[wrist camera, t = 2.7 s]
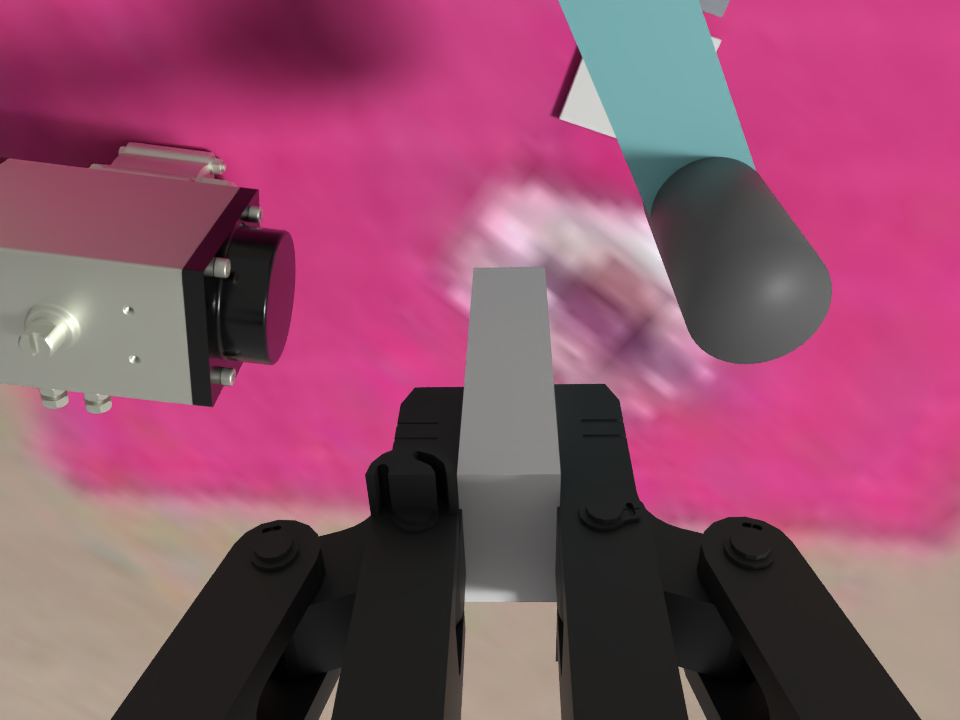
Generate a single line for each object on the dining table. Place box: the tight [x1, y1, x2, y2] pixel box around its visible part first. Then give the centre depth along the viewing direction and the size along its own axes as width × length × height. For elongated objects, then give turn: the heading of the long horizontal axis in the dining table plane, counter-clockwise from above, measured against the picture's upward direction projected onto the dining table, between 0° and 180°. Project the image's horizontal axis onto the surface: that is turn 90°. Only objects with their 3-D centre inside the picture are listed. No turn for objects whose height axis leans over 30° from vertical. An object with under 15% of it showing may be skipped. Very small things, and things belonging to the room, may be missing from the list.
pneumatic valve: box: [0, 142, 295, 414], centre depth 28 cm, size 6×12×12 cm, turn 83°
